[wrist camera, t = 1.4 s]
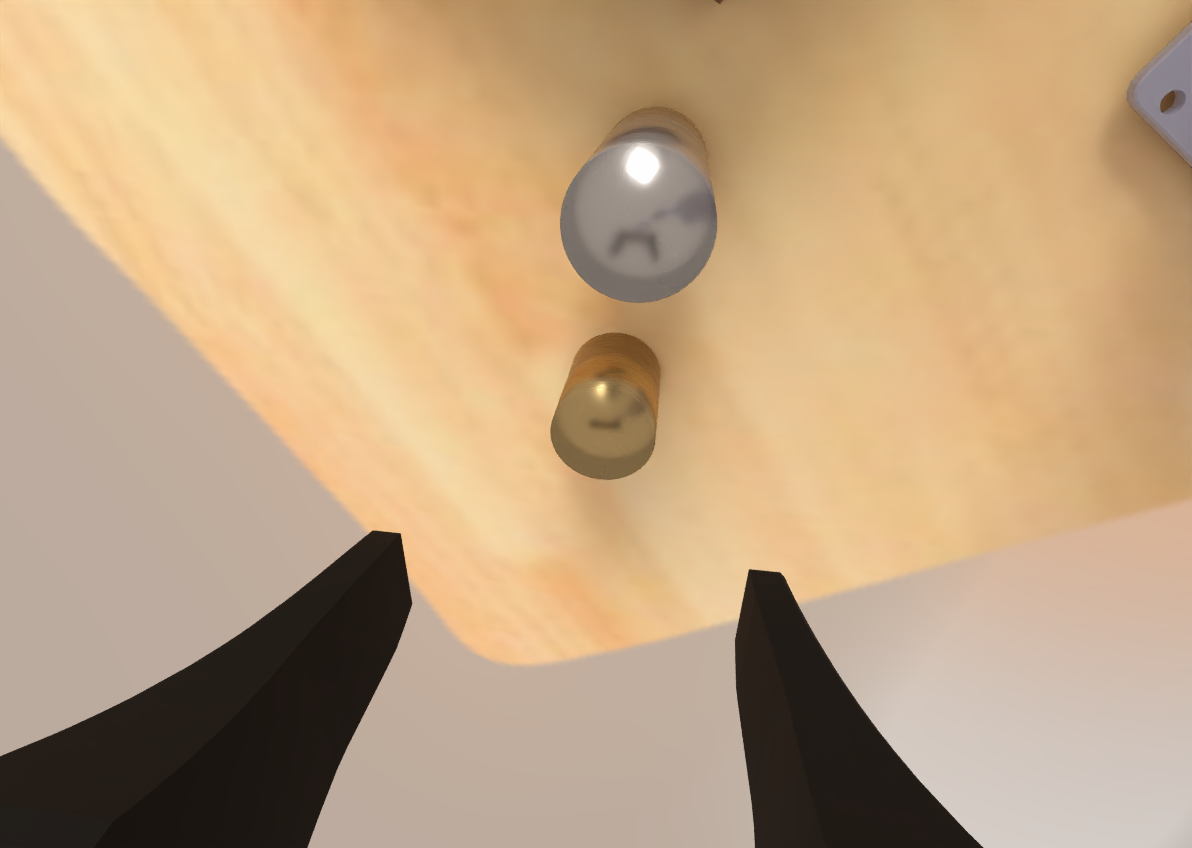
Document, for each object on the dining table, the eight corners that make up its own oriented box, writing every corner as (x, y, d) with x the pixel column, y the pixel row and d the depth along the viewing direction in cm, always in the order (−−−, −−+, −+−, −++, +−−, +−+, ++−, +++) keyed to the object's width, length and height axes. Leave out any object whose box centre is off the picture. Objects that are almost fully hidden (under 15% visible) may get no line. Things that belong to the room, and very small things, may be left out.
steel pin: (730, 153, 18) (750, 211, 12) (662, 240, 20) (651, 330, 14) (643, 82, 17) (620, 106, 12) (581, 178, 19) (531, 244, 13)
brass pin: (678, 367, 22) (677, 429, 18) (625, 428, 23) (614, 496, 20) (605, 315, 21) (589, 369, 18) (555, 380, 22) (531, 442, 19)
